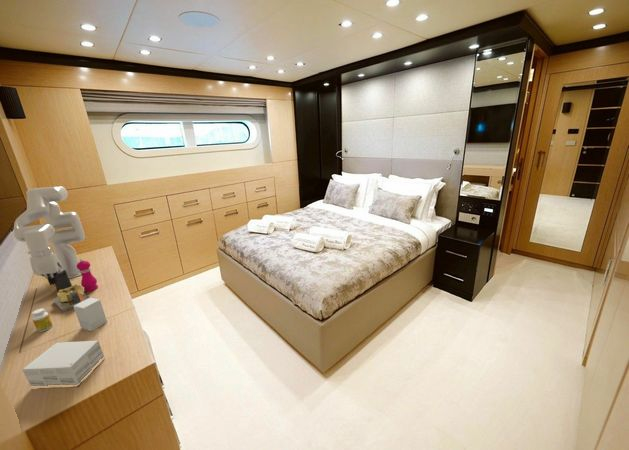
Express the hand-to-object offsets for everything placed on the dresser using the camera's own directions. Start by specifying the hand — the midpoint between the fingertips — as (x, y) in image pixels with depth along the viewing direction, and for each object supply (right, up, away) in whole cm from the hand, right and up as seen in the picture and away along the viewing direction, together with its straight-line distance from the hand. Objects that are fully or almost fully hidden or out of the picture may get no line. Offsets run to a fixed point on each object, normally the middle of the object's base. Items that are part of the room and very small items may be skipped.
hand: (54, 283), depth 140 cm
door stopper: (-12, -8, +19) cm, 23 cm away
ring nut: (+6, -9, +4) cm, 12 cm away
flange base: (+5, -11, +6) cm, 14 cm away
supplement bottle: (+11, -18, -15) cm, 26 cm away
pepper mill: (+5, -8, +18) cm, 20 cm away
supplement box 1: (+47, -25, -41) cm, 67 cm away
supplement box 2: (+34, -17, -14) cm, 41 cm away
